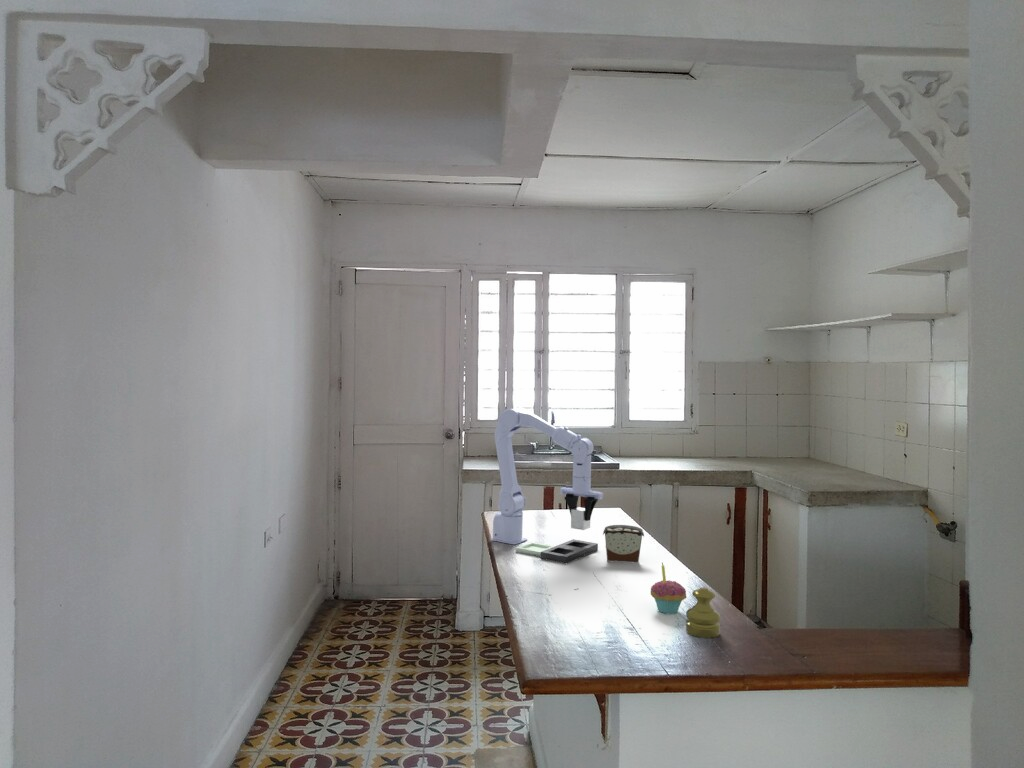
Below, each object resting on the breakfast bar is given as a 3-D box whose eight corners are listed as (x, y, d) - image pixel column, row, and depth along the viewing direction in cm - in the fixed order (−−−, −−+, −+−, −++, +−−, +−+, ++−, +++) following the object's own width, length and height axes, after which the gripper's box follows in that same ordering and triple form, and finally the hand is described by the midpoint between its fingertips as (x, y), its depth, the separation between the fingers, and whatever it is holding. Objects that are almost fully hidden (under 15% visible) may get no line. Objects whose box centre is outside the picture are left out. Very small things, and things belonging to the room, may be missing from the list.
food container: (641, 557, 225) (642, 525, 225) (643, 563, 219) (644, 529, 219) (601, 555, 227) (602, 523, 226) (602, 561, 221) (602, 528, 220)
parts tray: (516, 551, 229) (516, 547, 229) (531, 546, 236) (531, 541, 236) (540, 556, 224) (540, 552, 224) (555, 550, 231) (555, 546, 231)
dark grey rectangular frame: (540, 558, 222) (540, 551, 222) (573, 545, 238) (573, 539, 238) (566, 563, 217) (566, 556, 217) (597, 549, 233) (597, 543, 233)
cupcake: (664, 618, 172) (666, 568, 172) (642, 607, 180) (643, 559, 179) (693, 613, 176) (694, 564, 176) (670, 602, 184) (671, 555, 183)
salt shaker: (714, 641, 159) (715, 596, 158) (681, 634, 162) (682, 589, 162) (724, 631, 165) (725, 587, 164) (691, 624, 169) (693, 581, 168)
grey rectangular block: (570, 528, 232) (571, 509, 232) (577, 525, 236) (578, 507, 236) (583, 530, 230) (583, 511, 229) (590, 527, 233) (590, 508, 233)
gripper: (608, 477, 231) (606, 520, 232) (568, 472, 240) (567, 513, 240) (597, 480, 226) (596, 524, 226) (557, 475, 234) (556, 517, 234)
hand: (580, 519), depth 233 cm, fingers closed on grey rectangular block, 4 cm apart
